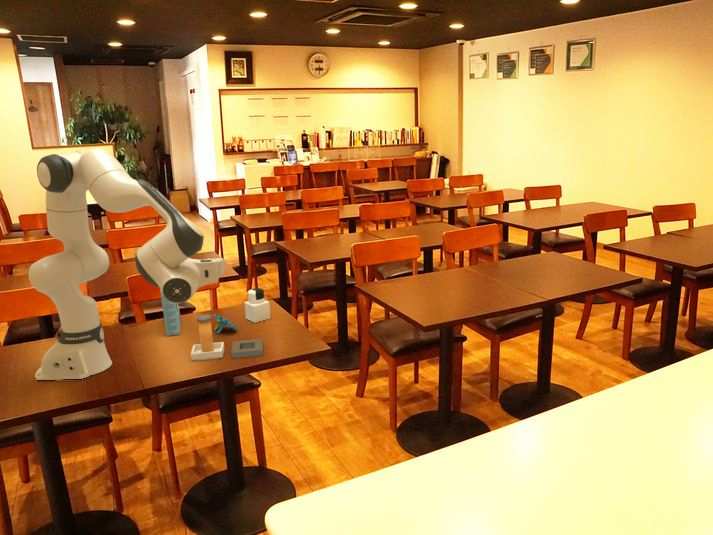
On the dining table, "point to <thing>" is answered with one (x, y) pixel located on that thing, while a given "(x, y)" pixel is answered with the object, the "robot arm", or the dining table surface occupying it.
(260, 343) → the grey peg base
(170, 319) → the gum box
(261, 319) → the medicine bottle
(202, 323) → the pin
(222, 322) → the teal toy dinosaur
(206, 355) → the tray
